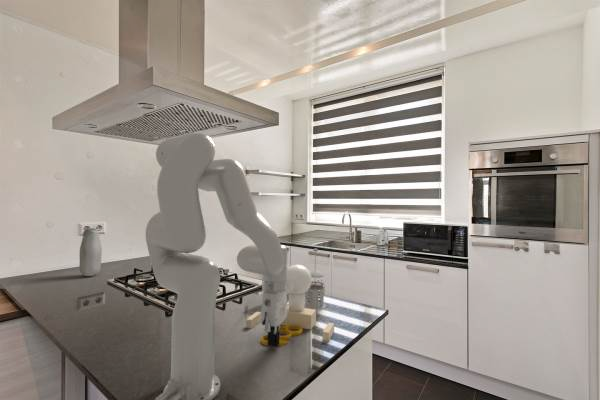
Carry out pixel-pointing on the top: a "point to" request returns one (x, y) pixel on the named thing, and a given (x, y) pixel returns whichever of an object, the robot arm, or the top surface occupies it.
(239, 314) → the top surface
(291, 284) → the cream blocks and ball
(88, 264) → the glass bottle
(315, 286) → the french press
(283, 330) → the novelty glasses
